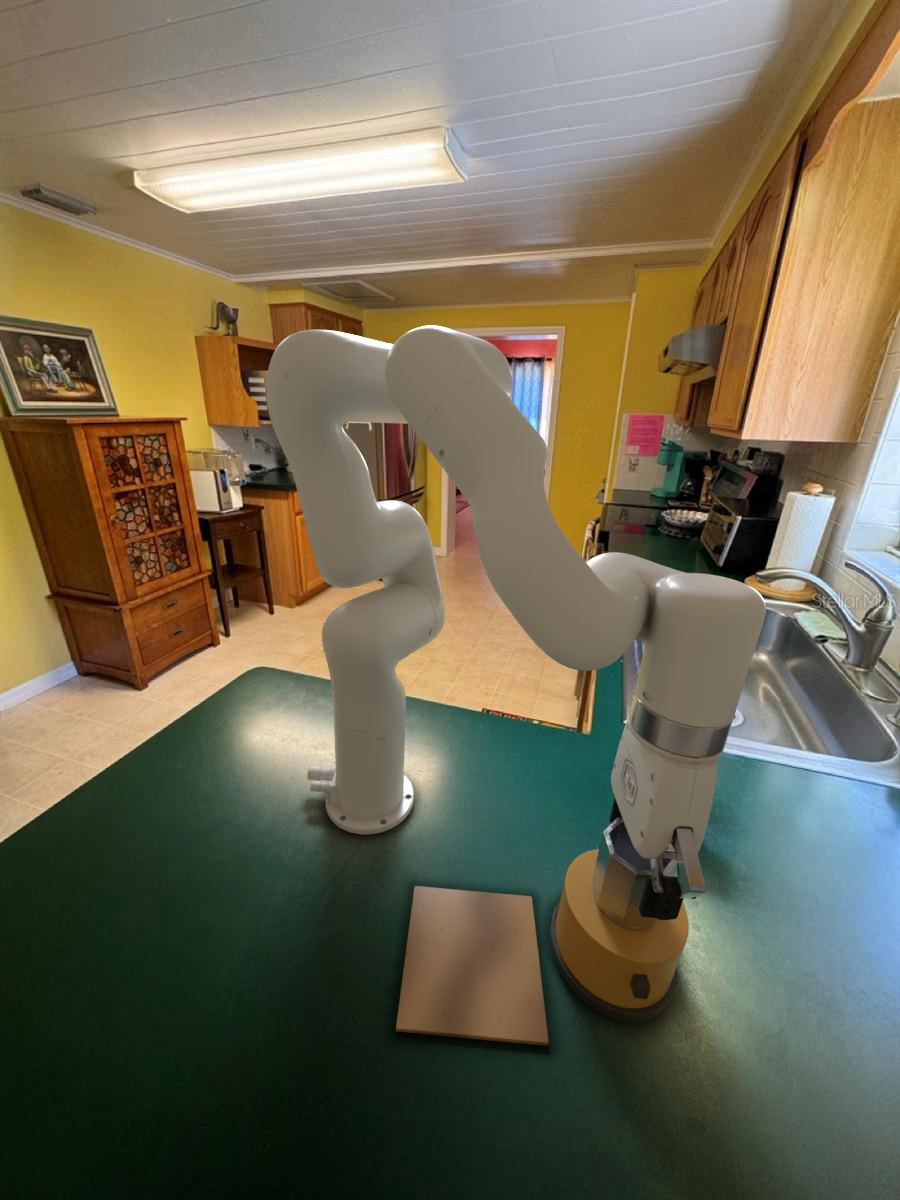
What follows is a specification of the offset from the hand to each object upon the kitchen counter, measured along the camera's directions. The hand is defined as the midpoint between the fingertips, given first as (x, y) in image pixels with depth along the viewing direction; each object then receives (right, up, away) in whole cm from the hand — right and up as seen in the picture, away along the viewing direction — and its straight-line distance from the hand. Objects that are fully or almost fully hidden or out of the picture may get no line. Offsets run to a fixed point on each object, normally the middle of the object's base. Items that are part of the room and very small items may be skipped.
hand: (639, 866), depth 46 cm
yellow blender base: (-1, -12, +5) cm, 13 cm away
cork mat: (-16, -12, +4) cm, 20 cm away
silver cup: (-1, -5, +2) cm, 5 cm away
